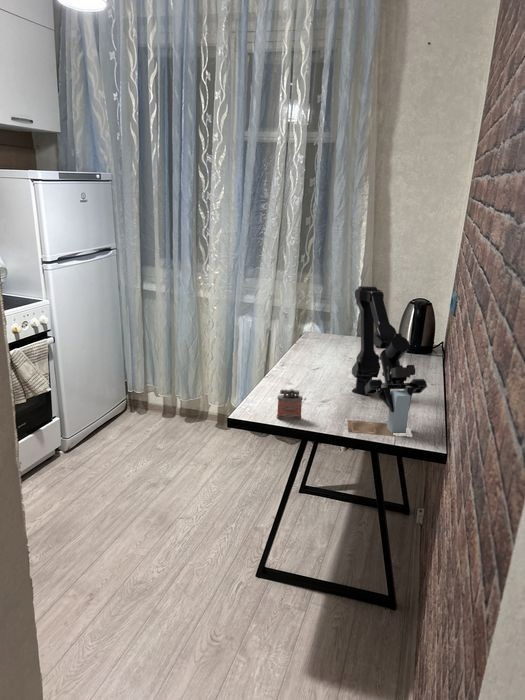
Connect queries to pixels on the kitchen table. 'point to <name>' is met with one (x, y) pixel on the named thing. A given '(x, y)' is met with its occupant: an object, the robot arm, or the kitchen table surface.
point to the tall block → (399, 412)
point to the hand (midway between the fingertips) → (400, 411)
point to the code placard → (368, 428)
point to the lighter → (289, 405)
